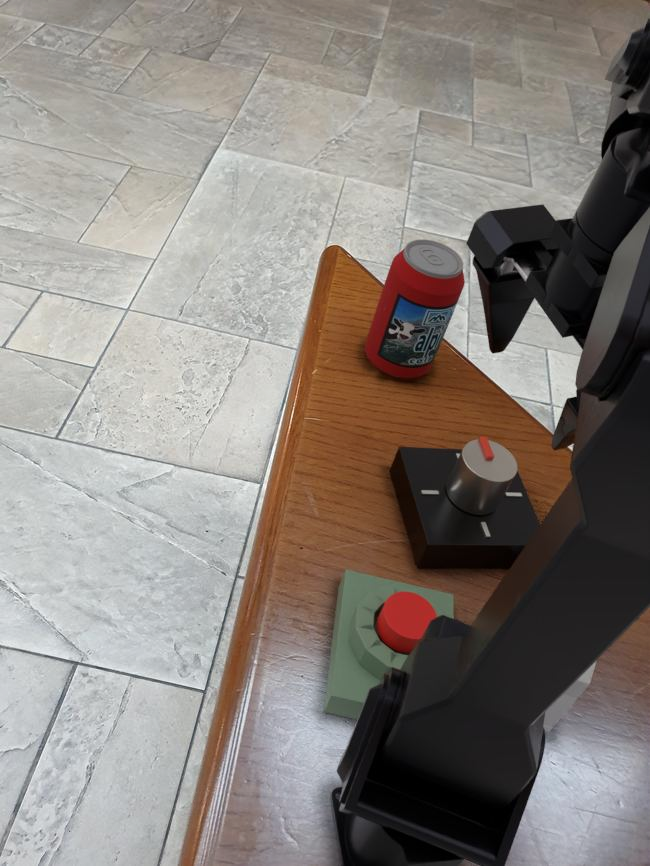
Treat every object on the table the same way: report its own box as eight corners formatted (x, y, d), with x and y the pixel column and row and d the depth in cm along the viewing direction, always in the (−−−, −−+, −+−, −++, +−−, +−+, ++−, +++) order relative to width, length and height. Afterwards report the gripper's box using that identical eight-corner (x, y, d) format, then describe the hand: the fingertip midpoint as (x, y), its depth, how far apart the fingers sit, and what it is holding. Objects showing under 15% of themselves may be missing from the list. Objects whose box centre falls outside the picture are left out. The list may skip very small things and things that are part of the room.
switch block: (443, 739, 55) (463, 709, 53) (323, 712, 55) (337, 681, 52) (444, 611, 63) (462, 579, 60) (338, 586, 62) (351, 553, 59)
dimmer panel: (534, 568, 68) (550, 544, 65) (416, 568, 65) (429, 543, 63) (497, 474, 74) (510, 449, 72) (388, 471, 72) (399, 444, 70)
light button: (428, 659, 55) (437, 644, 54) (374, 646, 55) (381, 631, 54) (429, 612, 58) (437, 598, 56) (378, 600, 57) (385, 585, 56)
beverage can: (385, 389, 79) (424, 283, 71) (349, 344, 83) (382, 238, 75) (442, 377, 82) (486, 274, 74) (405, 334, 86) (443, 231, 78)
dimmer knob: (506, 516, 67) (527, 479, 64) (454, 515, 65) (473, 477, 63) (489, 474, 70) (508, 437, 67) (439, 472, 68) (456, 434, 66)
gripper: (827, 321, 48) (686, 477, 60) (642, 123, 57) (552, 292, 70) (674, 354, 44) (556, 514, 56) (502, 135, 53) (433, 312, 66)
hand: (526, 397), depth 62 cm, fingers open, 9 cm apart
